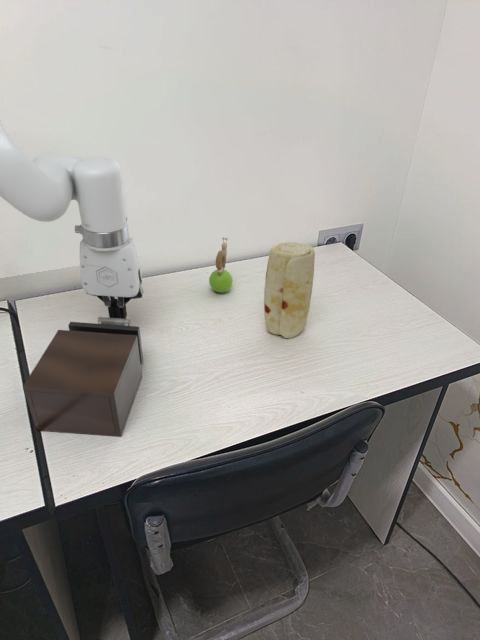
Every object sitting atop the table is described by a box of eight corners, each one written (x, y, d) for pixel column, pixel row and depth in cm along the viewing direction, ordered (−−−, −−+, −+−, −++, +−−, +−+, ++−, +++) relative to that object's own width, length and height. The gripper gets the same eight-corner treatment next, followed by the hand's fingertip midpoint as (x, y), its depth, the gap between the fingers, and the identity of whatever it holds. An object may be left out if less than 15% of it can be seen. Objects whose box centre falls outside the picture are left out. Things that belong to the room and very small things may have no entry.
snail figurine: (235, 284, 119) (236, 238, 112) (229, 298, 114) (230, 251, 107) (213, 281, 120) (213, 235, 112) (206, 295, 115) (206, 247, 107)
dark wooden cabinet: (68, 371, 91) (58, 329, 85) (142, 377, 91) (137, 335, 85) (36, 430, 79) (22, 386, 74) (121, 436, 80) (113, 393, 74)
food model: (302, 321, 109) (313, 236, 96) (310, 339, 104) (323, 252, 91) (258, 324, 107) (264, 238, 94) (265, 342, 102) (272, 254, 89)
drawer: (87, 337, 98) (80, 304, 93) (149, 342, 98) (146, 309, 93) (50, 405, 83) (40, 370, 78) (124, 410, 83) (119, 375, 78)
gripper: (55, 240, 83) (74, 329, 94) (144, 246, 83) (153, 334, 94) (70, 222, 89) (86, 307, 100) (153, 227, 89) (160, 312, 100)
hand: (118, 320), depth 97 cm, fingers closed
